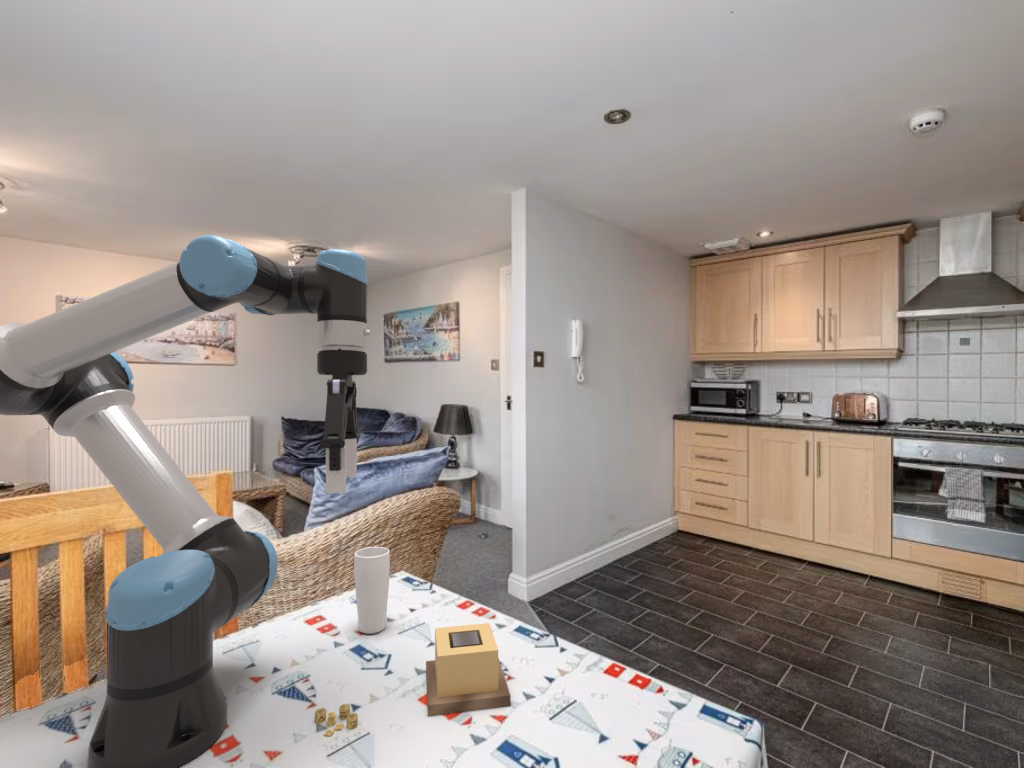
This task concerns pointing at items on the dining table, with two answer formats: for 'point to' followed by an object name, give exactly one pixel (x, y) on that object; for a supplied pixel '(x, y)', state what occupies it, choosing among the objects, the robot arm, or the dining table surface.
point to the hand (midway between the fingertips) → (342, 484)
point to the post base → (466, 700)
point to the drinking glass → (372, 588)
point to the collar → (466, 662)
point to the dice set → (343, 714)
